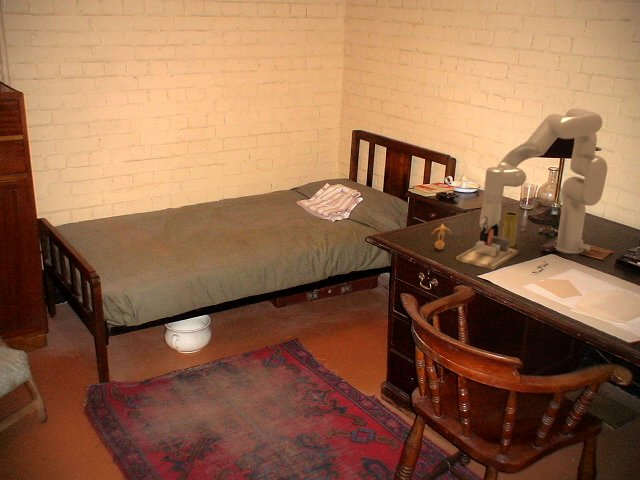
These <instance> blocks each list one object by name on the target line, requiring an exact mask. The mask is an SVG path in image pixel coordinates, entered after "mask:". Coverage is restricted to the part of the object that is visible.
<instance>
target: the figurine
mask: <svg viewBox="0 0 640 480" xmlns="http://www.w3.org/2000/svg"><path fill="white" fill-rule="evenodd" d="M438 230H439V232H438V234H437V237H438V240H437V241H436V242H435V244H434V246H435V249H437V250H439V251H440V250H443V249H444V247H445V241H444V236H445V234H446V232H445V231H449V233H450V235H452V232H451V229H450V228H448V227H446V226H445V225H444V223H441V225H440V226H439V227H438V228H436V229H434V230H433V231H432V233H431V235H433V234H434V233H435V232H436V231H438ZM441 235H442V237H440V236H441Z"/></svg>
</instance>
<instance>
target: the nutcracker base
mask: <svg viewBox="0 0 640 480" xmlns="http://www.w3.org/2000/svg"><path fill="white" fill-rule="evenodd" d="M492 243H493V244H497V245H500V254H499V255H498V256H496V257H493V256H489V255H485V254H482V253H478V252H475V248H476V245H475V246H473V247H471V248H469V249H468V250H465V251H464V252H462V253H461V254H458V255H457V256H456V258H455V259H456V261H458V262H463V263H466V264H470V265H474V266H477V267H480V268H481V267H482V268H485V269H488V270H491V271H492V270H495V269H496V268H498V267H499V266H500V265H502V264H504V263H505V262H507V261H509V260H510V259H511V258H512V259H513V258H514V257H515V256H517V255H518V253H519V250H518V249H515V248H511V247H509V244H510V239H507V238H503V237H502V236H499V235H498V236H493V241H492Z"/></svg>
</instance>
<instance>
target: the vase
mask: <svg viewBox="0 0 640 480" xmlns="http://www.w3.org/2000/svg"><path fill="white" fill-rule="evenodd" d="M518 217H519V214H518V213H517V212H514V211H513V212H512V211H507V212H505V213H504V219H503V220H504V222H503V229H502V236H501V237H503V238H507V239H510V244H509V248H512V247H515V246H516V240H517V239H516V238H517V224H518Z"/></svg>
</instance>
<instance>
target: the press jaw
mask: <svg viewBox="0 0 640 480" xmlns="http://www.w3.org/2000/svg"><path fill="white" fill-rule="evenodd" d="M493 232H494V229H493V228H491V227H489V230H488V232H487V233H488V241H487V242H483V241H480V240H479V241H476V243H475V246H476V248H475V252H478V253H482V254H485V255H489V256H493V257H496V256H498V255H499V254H500V245H497V244H493V243H492V241H493Z"/></svg>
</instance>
